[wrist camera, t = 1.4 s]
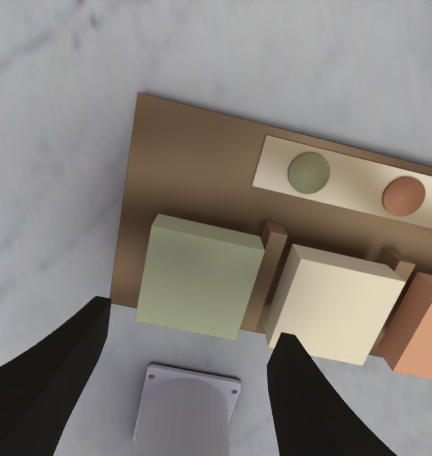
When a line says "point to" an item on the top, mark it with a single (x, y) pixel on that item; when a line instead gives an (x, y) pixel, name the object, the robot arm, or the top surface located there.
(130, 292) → the keypad board
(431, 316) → the terracotta key
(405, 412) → the top surface
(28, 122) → the top surface
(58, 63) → the top surface
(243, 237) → the green key
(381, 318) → the cream key
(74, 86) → the top surface
